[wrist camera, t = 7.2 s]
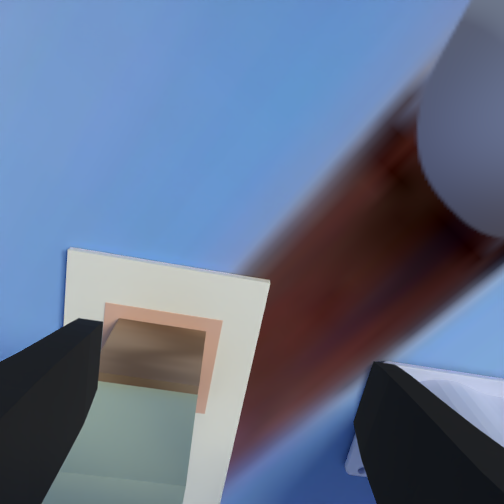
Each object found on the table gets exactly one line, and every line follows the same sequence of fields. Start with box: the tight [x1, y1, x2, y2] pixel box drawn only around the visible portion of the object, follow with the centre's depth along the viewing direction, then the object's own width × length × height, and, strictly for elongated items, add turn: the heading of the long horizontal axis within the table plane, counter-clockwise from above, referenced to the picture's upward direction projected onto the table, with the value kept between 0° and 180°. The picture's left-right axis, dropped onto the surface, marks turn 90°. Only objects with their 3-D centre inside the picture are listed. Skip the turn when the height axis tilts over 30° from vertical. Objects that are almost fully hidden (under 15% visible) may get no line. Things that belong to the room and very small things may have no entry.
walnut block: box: [98, 318, 206, 395], centre depth 20 cm, size 4×4×4 cm
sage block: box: [42, 381, 198, 504], centre depth 16 cm, size 4×4×4 cm
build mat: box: [63, 247, 270, 504], centre depth 23 cm, size 10×17×1 cm, turn 169°
